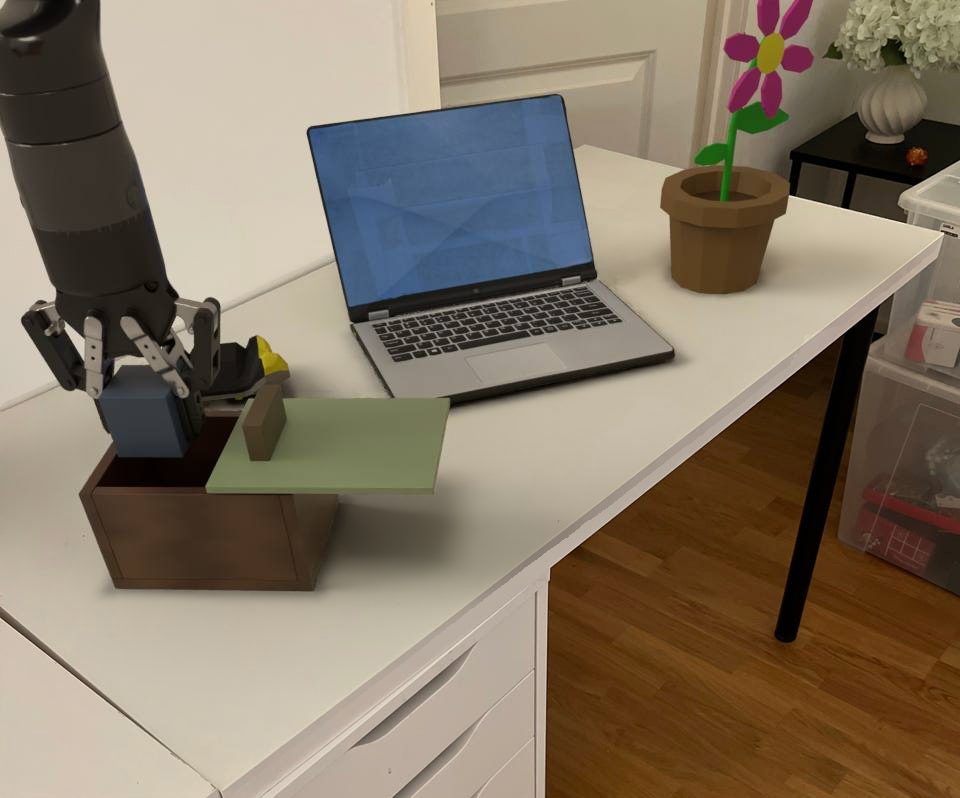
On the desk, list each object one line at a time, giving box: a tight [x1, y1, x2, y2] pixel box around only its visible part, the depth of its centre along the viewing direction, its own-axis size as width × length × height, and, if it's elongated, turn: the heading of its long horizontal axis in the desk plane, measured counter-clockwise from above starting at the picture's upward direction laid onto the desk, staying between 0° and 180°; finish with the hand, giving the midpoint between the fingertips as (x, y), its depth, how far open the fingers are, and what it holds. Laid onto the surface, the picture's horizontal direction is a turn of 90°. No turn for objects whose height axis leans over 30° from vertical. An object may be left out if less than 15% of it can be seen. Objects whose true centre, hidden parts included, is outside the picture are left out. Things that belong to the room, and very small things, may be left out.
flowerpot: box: [659, 0, 815, 295], centre depth 105 cm, size 14×14×30 cm
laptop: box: [305, 93, 676, 405], centre depth 102 cm, size 30×32×18 cm
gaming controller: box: [146, 333, 291, 406], centre depth 97 cm, size 15×6×10 cm
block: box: [98, 364, 191, 458], centre depth 72 cm, size 5×5×5 cm
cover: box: [205, 385, 451, 495], centre depth 72 cm, size 16×13×4 cm
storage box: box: [78, 409, 340, 592], centre depth 77 cm, size 16×12×9 cm
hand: (158, 434), depth 74 cm, fingers closed on block, 5 cm apart
